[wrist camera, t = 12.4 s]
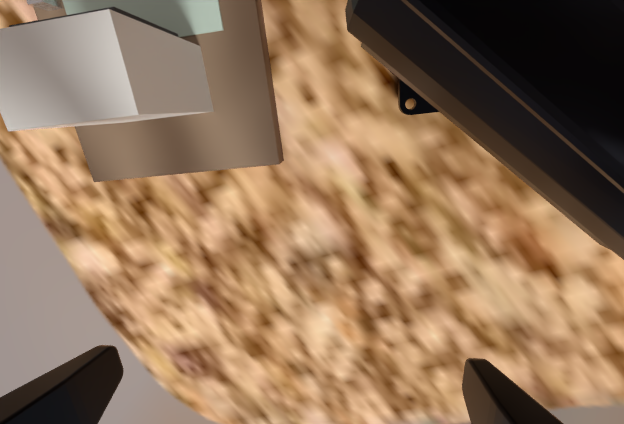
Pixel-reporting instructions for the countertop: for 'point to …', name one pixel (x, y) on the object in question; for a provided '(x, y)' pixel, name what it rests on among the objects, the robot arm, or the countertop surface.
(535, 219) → the countertop surface
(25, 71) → the block
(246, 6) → the rail board
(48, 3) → the rail guides
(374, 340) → the countertop surface
